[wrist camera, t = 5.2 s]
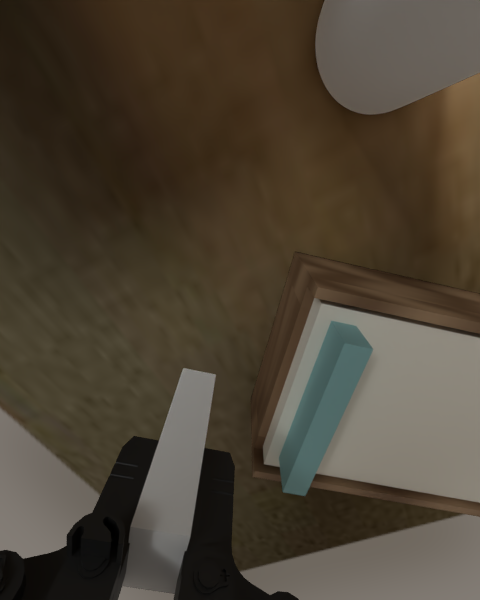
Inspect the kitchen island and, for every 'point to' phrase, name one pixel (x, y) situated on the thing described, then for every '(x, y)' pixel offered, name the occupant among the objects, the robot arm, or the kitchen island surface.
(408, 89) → the can
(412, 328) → the lid
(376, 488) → the box
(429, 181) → the kitchen island surface
